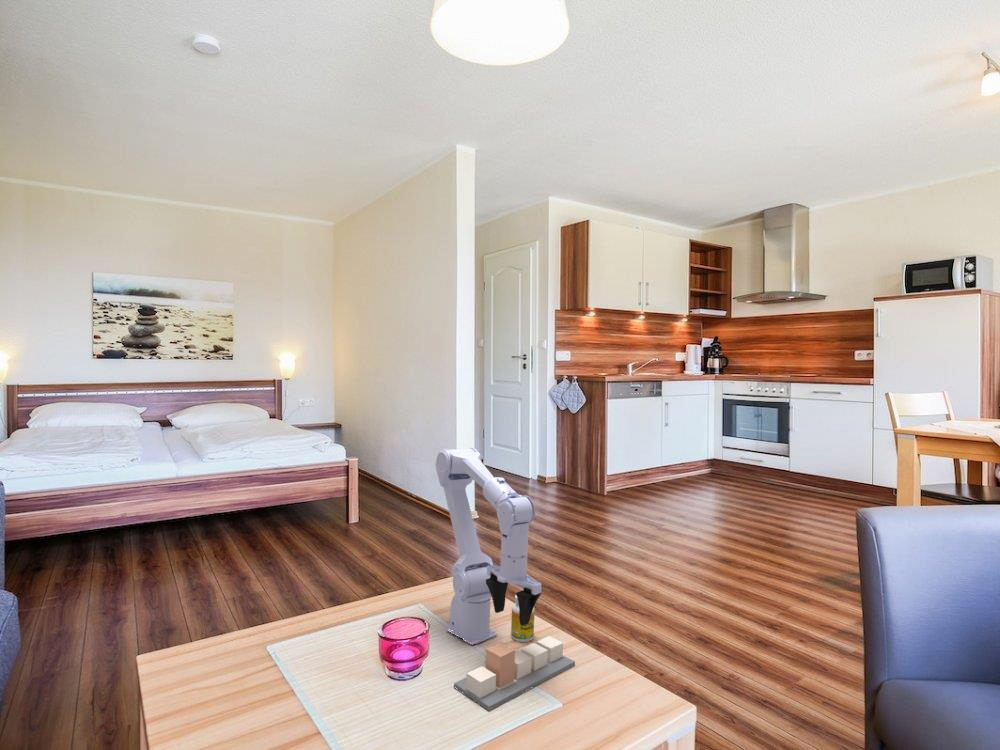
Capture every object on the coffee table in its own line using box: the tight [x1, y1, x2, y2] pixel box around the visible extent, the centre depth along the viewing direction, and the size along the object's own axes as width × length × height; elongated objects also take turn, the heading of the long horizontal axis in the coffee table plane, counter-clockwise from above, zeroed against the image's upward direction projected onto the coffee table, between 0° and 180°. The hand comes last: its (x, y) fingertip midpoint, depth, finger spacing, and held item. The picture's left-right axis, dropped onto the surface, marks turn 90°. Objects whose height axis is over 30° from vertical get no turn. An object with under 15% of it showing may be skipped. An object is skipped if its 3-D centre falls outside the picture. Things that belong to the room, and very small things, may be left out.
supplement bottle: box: [510, 594, 536, 643], centre depth 130 cm, size 5×5×10 cm
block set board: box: [453, 635, 576, 712], centre depth 113 cm, size 10×25×4 cm, turn 134°
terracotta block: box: [485, 642, 516, 688], centre depth 110 cm, size 4×4×6 cm
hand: (511, 617), depth 119 cm, fingers open, 7 cm apart
